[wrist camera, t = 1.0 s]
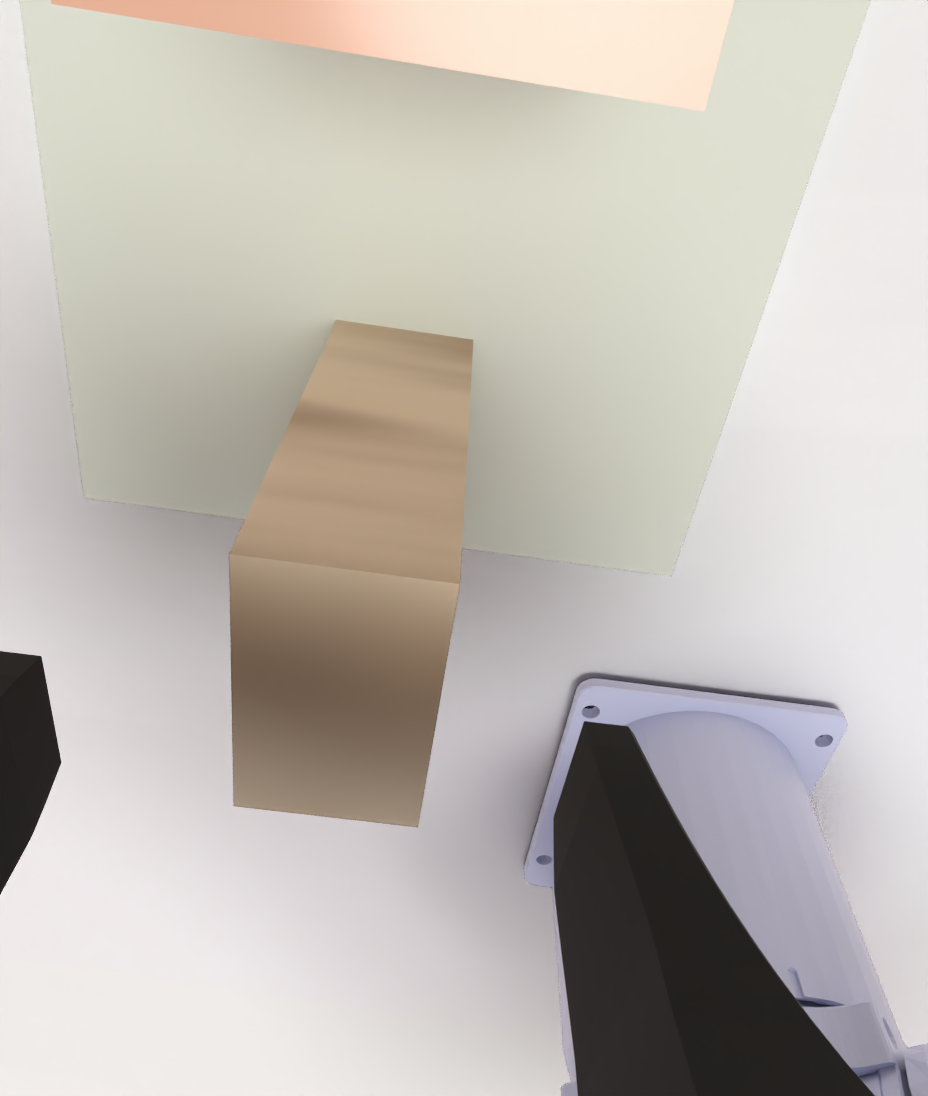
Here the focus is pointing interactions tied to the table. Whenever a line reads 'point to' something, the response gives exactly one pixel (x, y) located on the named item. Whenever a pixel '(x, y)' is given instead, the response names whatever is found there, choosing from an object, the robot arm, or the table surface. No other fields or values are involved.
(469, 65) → the peach teal block
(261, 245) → the sage mat
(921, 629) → the table surface
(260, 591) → the tan wood plank
